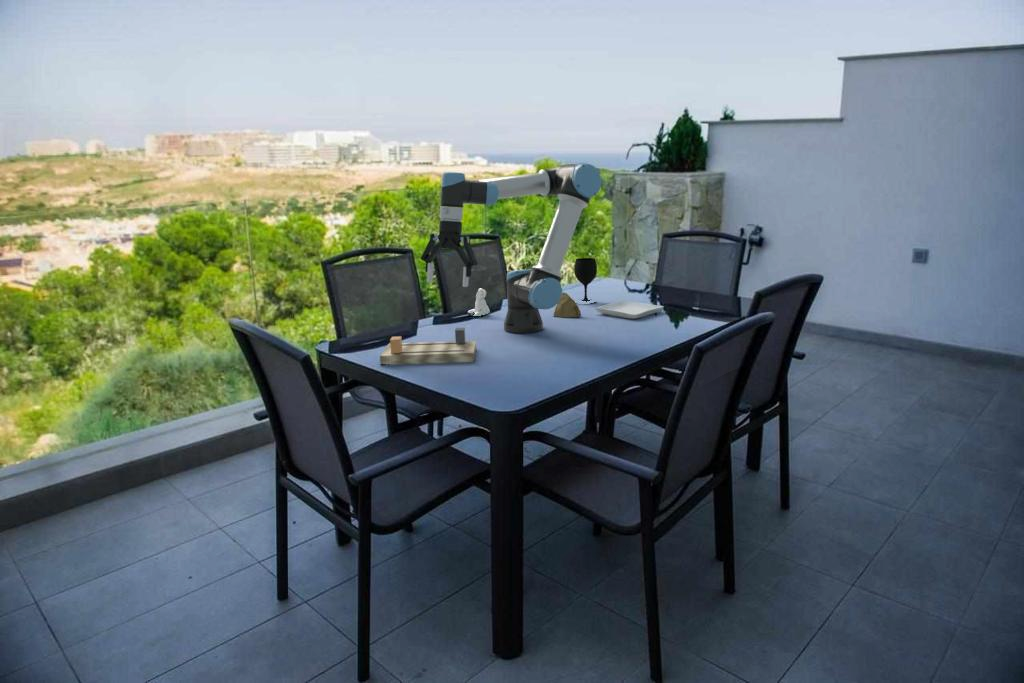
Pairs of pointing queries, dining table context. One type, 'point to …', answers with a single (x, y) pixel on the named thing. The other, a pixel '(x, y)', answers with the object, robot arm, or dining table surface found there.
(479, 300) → the white creature statuette
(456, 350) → the fader console
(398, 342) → the orange fader
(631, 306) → the salad plate
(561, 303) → the rock
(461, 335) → the graphite fader
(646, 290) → the dining table surface
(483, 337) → the dining table surface
